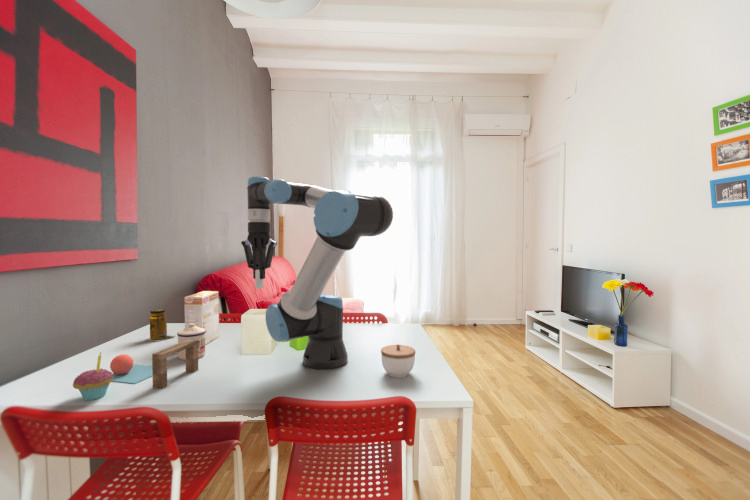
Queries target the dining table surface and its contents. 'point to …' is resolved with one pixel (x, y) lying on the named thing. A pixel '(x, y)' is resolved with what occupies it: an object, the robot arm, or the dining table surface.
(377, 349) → the dining table surface
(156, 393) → the dining table surface
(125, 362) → the ball
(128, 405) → the dining table surface
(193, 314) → the coffeecake box
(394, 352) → the lidded jar
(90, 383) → the cupcake
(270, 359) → the dining table surface
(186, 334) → the teacup with lid
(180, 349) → the bridge
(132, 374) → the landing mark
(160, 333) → the condiment
